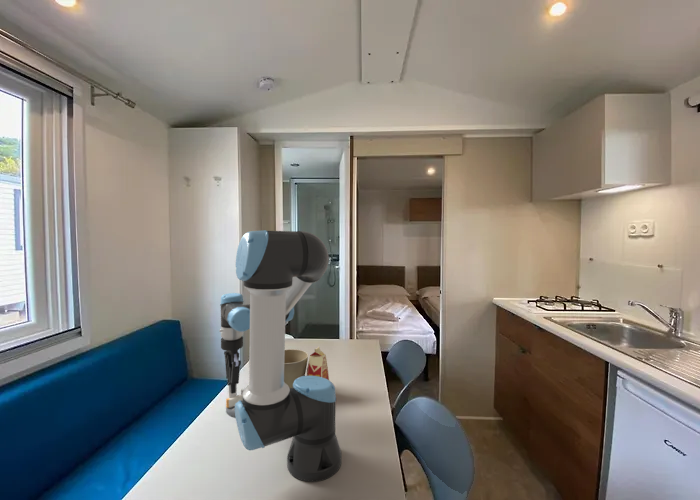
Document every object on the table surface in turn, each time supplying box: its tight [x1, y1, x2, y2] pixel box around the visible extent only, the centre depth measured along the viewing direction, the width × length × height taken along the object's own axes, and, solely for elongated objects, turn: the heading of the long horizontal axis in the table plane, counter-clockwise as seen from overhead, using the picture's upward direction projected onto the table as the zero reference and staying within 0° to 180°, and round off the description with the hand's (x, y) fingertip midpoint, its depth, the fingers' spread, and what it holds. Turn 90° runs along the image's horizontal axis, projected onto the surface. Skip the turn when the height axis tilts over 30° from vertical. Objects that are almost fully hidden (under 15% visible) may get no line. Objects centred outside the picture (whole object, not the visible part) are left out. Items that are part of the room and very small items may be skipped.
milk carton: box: [306, 346, 330, 381], centre depth 128 cm, size 9×9×20 cm
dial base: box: [225, 406, 236, 419], centre depth 120 cm, size 14×14×2 cm
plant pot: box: [284, 348, 309, 389], centre depth 129 cm, size 15×15×16 cm
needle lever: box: [225, 387, 246, 408], centre depth 118 cm, size 9×4×4 cm, turn 128°
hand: (232, 400), depth 118 cm, fingers closed
